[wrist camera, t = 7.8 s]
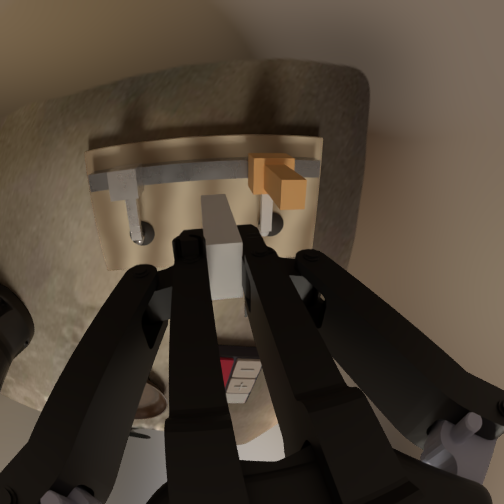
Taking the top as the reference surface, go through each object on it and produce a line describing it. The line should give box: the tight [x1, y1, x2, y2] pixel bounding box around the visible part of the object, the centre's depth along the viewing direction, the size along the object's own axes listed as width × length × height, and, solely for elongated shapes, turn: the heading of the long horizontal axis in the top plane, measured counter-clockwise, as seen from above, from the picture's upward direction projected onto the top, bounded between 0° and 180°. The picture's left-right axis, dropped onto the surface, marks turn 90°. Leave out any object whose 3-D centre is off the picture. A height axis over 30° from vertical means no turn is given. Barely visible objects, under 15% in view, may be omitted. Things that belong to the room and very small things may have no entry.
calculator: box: [218, 345, 262, 403], centre depth 48 cm, size 11×4×15 cm
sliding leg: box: [248, 153, 307, 237], centre depth 27 cm, size 4×10×11 cm, turn 179°
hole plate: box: [84, 134, 323, 271], centre depth 32 cm, size 28×16×2 cm, turn 89°
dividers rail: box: [88, 157, 321, 245], centre depth 29 cm, size 26×10×5 cm, turn 89°
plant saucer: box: [134, 379, 168, 419], centre depth 47 cm, size 21×21×3 cm
